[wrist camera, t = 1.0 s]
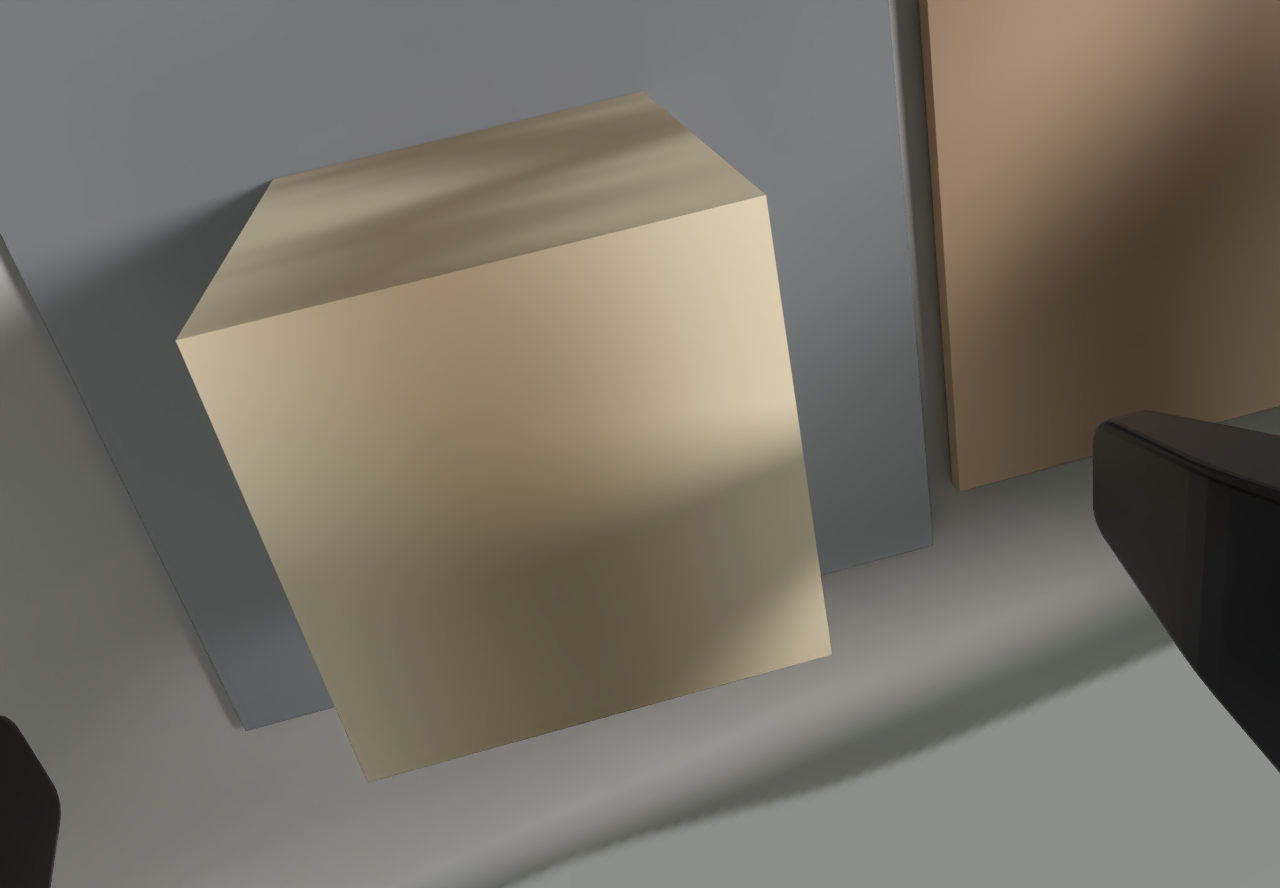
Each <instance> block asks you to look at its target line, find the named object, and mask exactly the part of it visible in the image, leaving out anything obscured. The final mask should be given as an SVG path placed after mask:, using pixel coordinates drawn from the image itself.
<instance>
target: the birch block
mask: <svg viewBox="0 0 1280 888" xmlns="http://www.w3.org/2000/svg"><path fill="white" fill-rule="evenodd" d="M176 343H177V345H178V347H179V349H180V352H181V354H182V356H183V359H184V361H185V363H186V366H187V368H188V370H189V372H190V375H191V377H192V379H193V382H194V384H195V386H196V389H197V391H198V393H199V395H200V398H201V400H202V402H203V405H204V407H205V409H206V412H207V414H208V416H209V418H210V421H211V423H212V425H213V428H214V430H215V432H216V435H217V437H218V439H219V441H220V444H221V446H222V448H223V451H224V453H225V455H226V458H227V460H228V462H229V464H230V467H231V469H232V471H233V474H234V476H235V478H236V481H237V483H238V485H239V488H240V490H241V492H242V494H243V497H244V499H245V501H246V504H247V506H248V508H249V511H250V513H251V515H252V517H253V520H254V522H255V524H256V527H257V529H258V531H259V534H260V536H261V538H262V540H263V543H264V545H265V547H266V550H267V552H268V554H269V557H270V559H271V561H272V563H273V566H274V568H275V570H276V573H277V575H278V577H279V580H280V582H281V584H282V586H283V589H284V591H285V593H286V596H287V598H288V600H289V603H290V605H291V607H292V609H293V612H294V614H295V616H296V619H297V621H298V623H299V626H300V628H301V630H302V632H303V635H304V637H305V639H306V642H307V644H308V646H309V649H310V651H311V653H312V655H313V658H314V660H315V662H316V665H317V667H318V669H319V672H320V674H321V676H322V678H323V681H324V683H325V685H326V688H327V690H328V692H329V695H330V697H331V699H332V701H333V704H334V706H335V708H336V711H337V713H338V715H339V718H340V720H341V722H342V724H343V727H344V729H345V731H346V734H347V736H348V738H349V741H350V743H351V745H352V747H353V750H354V752H355V754H356V757H357V759H358V761H359V764H360V766H361V768H362V770H363V773H364V775H365V777H366V780H367V782H372V781H375V780H379V779H383V778H386V777H390V776H394V775H397V774H401V773H404V772H408V771H412V770H415V769H419V768H423V767H426V766H430V765H433V764H437V763H441V762H444V761H448V760H452V759H455V758H459V757H462V756H466V755H470V754H473V753H477V752H481V751H484V750H488V749H491V748H495V747H499V746H502V745H506V744H510V743H513V742H517V741H520V740H524V739H528V738H531V737H535V736H539V735H542V734H546V733H550V732H553V731H557V730H560V729H564V728H568V727H571V726H575V725H579V724H582V723H586V722H589V721H593V720H597V719H600V718H604V717H608V716H611V715H615V714H618V713H622V712H626V711H629V710H633V709H637V708H640V707H644V706H647V705H651V704H655V703H658V702H662V701H666V700H669V699H673V698H676V697H680V696H684V695H687V694H691V693H695V692H698V691H702V690H705V689H709V688H713V687H716V686H720V685H724V684H727V683H731V682H735V681H738V680H742V679H745V678H749V677H753V676H756V675H760V674H764V673H767V672H771V671H774V670H778V669H782V668H785V667H789V666H793V665H796V664H800V663H803V662H807V661H811V660H814V659H818V658H822V657H825V656H829V655H832V651H831V644H830V637H829V630H828V623H827V616H826V609H825V602H824V595H823V588H822V581H821V574H820V567H819V560H818V553H817V546H816V539H815V532H814V525H813V518H812V512H811V505H810V498H809V491H808V484H807V477H806V470H805V463H804V456H803V449H802V442H801V435H800V428H799V421H798V414H797V407H796V400H795V393H794V386H793V379H792V372H791V365H790V358H789V351H788V344H787V337H786V330H785V323H784V317H783V310H782V303H781V296H780V289H779V282H778V275H777V268H776V261H775V254H774V247H773V240H772V233H771V226H770V219H769V212H768V205H767V198H766V195H765V194H764V193H763V192H762V191H761V190H759V189H758V188H757V187H756V186H755V185H754V184H752V183H751V182H750V181H749V180H748V179H746V178H745V177H744V176H743V175H742V174H740V173H739V172H738V171H737V170H736V169H734V168H733V167H732V166H731V165H730V164H729V163H727V162H726V161H725V160H724V159H723V158H721V157H720V156H719V155H718V154H717V153H715V152H714V151H713V150H712V149H711V148H709V147H708V146H707V145H706V144H705V143H704V142H702V141H701V140H700V139H699V138H698V137H696V136H695V135H694V134H693V133H692V132H690V131H689V130H688V129H687V128H686V127H684V126H683V125H682V124H681V123H680V122H679V121H677V120H676V119H675V118H674V117H673V116H671V115H670V114H669V113H668V112H667V111H665V110H664V109H663V108H662V107H661V106H659V105H658V104H657V103H656V102H655V101H654V100H652V99H651V98H650V97H649V96H648V95H646V94H645V93H644V92H643V91H642V92H638V93H634V94H630V95H625V96H621V97H617V98H613V99H609V100H604V101H600V102H596V103H592V104H588V105H583V106H579V107H575V108H571V109H567V110H562V111H558V112H554V113H550V114H546V115H541V116H537V117H533V118H529V119H525V120H520V121H516V122H512V123H508V124H504V125H499V126H495V127H491V128H487V129H483V130H478V131H474V132H470V133H466V134H462V135H457V136H453V137H449V138H445V139H441V140H436V141H432V142H428V143H424V144H420V145H415V146H411V147H407V148H403V149H399V150H394V151H390V152H386V153H382V154H378V155H373V156H369V157H365V158H361V159H357V160H352V161H348V162H344V163H340V164H336V165H331V166H327V167H323V168H319V169H315V170H311V171H306V172H302V173H298V174H294V175H290V176H285V177H281V178H277V179H273V180H272V182H271V184H270V185H269V187H268V188H267V190H266V192H265V193H264V195H263V197H262V198H261V200H260V202H259V203H258V205H257V207H256V208H255V210H254V212H253V213H252V215H251V217H250V218H249V220H248V222H247V223H246V225H245V227H244V228H243V230H242V231H241V233H240V235H239V236H238V238H237V240H236V241H235V243H234V245H233V246H232V248H231V250H230V251H229V253H228V255H227V256H226V258H225V260H224V261H223V263H222V265H221V266H220V268H219V270H218V271H217V273H216V274H215V276H214V278H213V279H212V281H211V283H210V284H209V286H208V288H207V289H206V291H205V293H204V294H203V296H202V298H201V299H200V301H199V303H198V304H197V306H196V308H195V309H194V311H193V313H192V314H191V316H190V317H189V319H188V321H187V322H186V324H185V326H184V327H183V329H182V331H181V332H180V334H179V336H178V337H177V339H176Z"/></svg>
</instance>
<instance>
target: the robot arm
mask: <svg viewBox="0 0 1280 888" xmlns="http://www.w3.org/2000/svg"><path fill="white" fill-rule="evenodd" d="M1093 510H1094V515H1095V519H1096V522H1097V525H1098V527H1099V530H1100V532H1101V534H1102V535H1103V537H1104V539H1105V540H1106V542H1107V543H1108V545H1109V546H1110V548H1111V549H1112V551H1113V552H1114V554H1115V555H1116V556H1117V558H1118V559H1119V561H1120V562H1121V564H1122V565H1123V567H1124V568H1125V570H1126V571H1127V573H1128V574H1129V576H1130V577H1131V579H1132V580H1133V582H1134V583H1135V585H1136V586H1137V588H1138V589H1139V591H1140V592H1141V594H1142V595H1143V597H1144V598H1145V599H1146V601H1147V602H1148V604H1149V605H1150V607H1151V608H1152V610H1153V611H1154V613H1155V614H1156V616H1157V617H1158V619H1159V620H1160V622H1161V623H1162V625H1163V626H1164V628H1165V629H1166V631H1167V632H1168V634H1169V635H1170V637H1171V638H1172V640H1173V641H1174V642H1175V644H1176V645H1177V647H1178V648H1179V650H1180V651H1181V653H1182V654H1183V656H1184V657H1185V658H1186V660H1187V661H1188V662H1189V664H1190V665H1191V666H1192V668H1193V669H1194V671H1195V672H1196V673H1197V675H1198V676H1199V677H1200V678H1201V680H1202V681H1203V682H1204V683H1205V685H1206V686H1207V687H1208V688H1209V690H1210V691H1211V692H1212V693H1213V695H1214V696H1215V697H1216V698H1217V699H1218V701H1219V702H1220V703H1221V704H1222V705H1223V706H1224V708H1225V709H1226V710H1227V711H1228V712H1229V714H1230V715H1231V716H1232V717H1233V718H1234V719H1235V721H1236V722H1237V723H1238V724H1239V725H1240V726H1241V728H1242V729H1243V730H1244V731H1245V732H1246V733H1247V735H1248V736H1249V737H1250V738H1251V739H1252V740H1253V742H1254V743H1255V744H1256V745H1257V746H1258V748H1259V749H1260V750H1261V751H1262V752H1263V753H1264V755H1265V756H1266V757H1267V758H1268V759H1269V761H1270V762H1271V763H1272V764H1273V765H1274V766H1275V768H1276V769H1277V770H1278V771H1279V772H1280V436H1277V435H1272V434H1267V433H1262V432H1257V431H1252V430H1247V429H1242V428H1237V427H1232V426H1227V425H1222V424H1217V423H1212V422H1207V421H1202V420H1197V419H1192V418H1186V417H1181V416H1176V415H1171V414H1166V413H1161V412H1156V411H1150V410H1146V411H1138V412H1135V413H1131V414H1127V415H1123V416H1120V417H1116V418H1112V419H1109V420H1106V421H1103V422H1102V423H1101V424H1100V425H1099V426H1098V427H1097V429H1096V431H1095V434H1094V440H1093ZM60 817H61V810H60V802H59V797H58V794H57V791H56V789H55V786H54V784H53V783H52V781H51V779H50V778H49V776H48V775H47V773H46V772H45V770H44V768H43V767H42V765H41V764H40V762H39V760H38V759H37V757H36V756H35V754H34V752H33V751H32V749H31V748H30V746H29V744H28V743H27V741H26V740H25V738H24V736H23V735H22V733H21V732H20V730H19V729H18V727H17V726H16V725H15V723H14V722H12V721H11V720H10V719H9V718H7V717H4V716H0V888H50V887H51V880H52V873H53V867H54V860H55V853H56V846H57V840H58V833H59V826H60Z"/></svg>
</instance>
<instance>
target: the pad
mask: <svg viewBox="0 0 1280 888" xmlns="http://www.w3.org/2000/svg"><path fill="white" fill-rule="evenodd" d="M919 14H920V28H921V42H922V57H923V71H924V85H925V100H926V114H927V129H928V143H929V157H930V172H931V186H932V200H933V215H934V229H935V243H936V258H937V272H938V287H939V301H940V315H941V330H942V344H943V358H944V373H945V387H946V401H947V416H948V430H949V444H950V459H951V473H952V484H953V485H954V486H955V487H956V488H957V489H958V490H959V491H964V490H968V489H972V488H975V487H979V486H983V485H987V484H990V483H994V482H998V481H1002V480H1005V479H1009V478H1013V477H1016V476H1020V475H1024V474H1028V473H1031V472H1035V471H1039V470H1043V469H1046V468H1050V467H1054V466H1058V465H1061V464H1065V463H1069V462H1073V461H1076V460H1080V459H1084V458H1087V457H1091V456H1093V440H1094V434H1095V431H1096V429H1097V427H1098V426H1099V425H1100V424H1101V423H1102V422H1103V421H1106V420H1109V419H1112V418H1116V417H1120V416H1123V415H1127V414H1131V413H1135V412H1138V411H1146V410H1150V411H1156V412H1161V413H1166V414H1171V415H1176V416H1181V417H1186V418H1192V419H1197V420H1202V421H1207V422H1212V423H1218V422H1222V421H1226V420H1229V419H1233V418H1237V417H1241V416H1244V415H1248V414H1252V413H1256V412H1259V411H1263V410H1267V409H1270V408H1274V407H1278V406H1280V0H919Z"/></svg>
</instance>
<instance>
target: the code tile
mask: <svg viewBox="0 0 1280 888" xmlns="http://www.w3.org/2000/svg"><path fill="white" fill-rule="evenodd" d="M642 91H643V92H644V93H645V94H646V95H648V96H649V97H650V98H651V99H652V100H654V101H655V102H656V103H657V104H658V105H659V106H661V107H662V108H663V109H664V110H665V111H667V112H668V113H669V114H670V115H671V116H673V117H674V118H675V119H676V120H677V121H679V122H680V123H681V124H682V125H683V126H684V127H686V128H687V129H688V130H689V131H690V132H692V133H693V134H694V135H695V136H696V137H698V138H699V139H700V140H701V141H702V142H704V143H705V144H706V145H707V146H708V147H709V148H711V149H712V150H713V151H714V152H715V153H717V154H718V155H719V156H720V157H721V158H723V159H724V160H725V161H726V162H727V163H729V164H730V165H731V166H732V167H733V168H734V169H736V170H737V171H738V172H739V173H740V174H742V175H743V176H744V177H745V178H746V179H748V180H749V181H750V182H751V183H752V184H754V185H755V186H756V187H757V188H758V189H759V190H761V191H762V192H763V193H764V194H765V195H766V198H767V205H768V212H769V219H770V226H771V233H772V240H773V247H774V254H775V261H776V268H777V275H778V282H779V289H780V296H781V303H782V310H783V317H784V323H785V330H786V337H787V344H788V351H789V358H790V365H791V372H792V379H793V386H794V393H795V400H796V407H797V414H798V421H799V428H800V435H801V442H802V449H803V456H804V463H805V470H806V477H807V484H808V491H809V498H810V505H811V512H812V518H813V525H814V532H815V539H816V546H817V553H818V560H819V567H820V574H821V575H825V574H828V573H832V572H836V571H839V570H843V569H847V568H850V567H854V566H858V565H861V564H865V563H869V562H873V561H876V560H880V559H884V558H887V557H891V556H895V555H898V554H902V553H906V552H910V551H913V550H917V549H921V548H924V547H928V546H932V545H933V537H932V525H931V513H930V501H929V489H928V476H927V464H926V452H925V440H924V428H923V415H922V403H921V391H920V379H919V367H918V354H917V342H916V330H915V318H914V306H913V293H912V281H911V269H910V257H909V245H908V232H907V220H906V208H905V196H904V184H903V171H902V159H901V147H900V135H899V123H898V110H897V98H896V86H895V74H894V62H893V49H892V37H891V25H890V13H889V1H888V0H0V234H1V236H2V238H3V240H4V242H5V244H6V246H7V248H8V250H9V252H10V254H11V256H12V258H13V260H14V262H15V264H16V266H17V268H18V270H19V272H20V274H21V276H22V278H23V280H24V282H25V284H26V287H27V289H28V291H29V293H30V295H31V297H32V299H33V301H34V303H35V305H36V307H37V309H38V311H39V313H40V315H41V317H42V319H43V321H44V323H45V325H46V327H47V329H48V331H49V333H50V335H51V337H52V339H53V341H54V343H55V345H56V347H57V349H58V351H59V353H60V355H61V358H62V360H63V362H64V364H65V366H66V368H67V370H68V372H69V374H70V376H71V378H72V380H73V382H74V384H75V386H76V388H77V390H78V392H79V394H80V396H81V398H82V400H83V402H84V404H85V406H86V408H87V410H88V412H89V414H90V416H91V418H92V420H93V422H94V424H95V426H96V429H97V431H98V433H99V435H100V437H101V439H102V441H103V443H104V445H105V447H106V449H107V451H108V453H109V455H110V457H111V459H112V461H113V463H114V465H115V467H116V469H117V471H118V473H119V475H120V477H121V479H122V481H123V483H124V485H125V487H126V489H127V491H128V493H129V495H130V497H131V500H132V502H133V504H134V506H135V508H136V510H137V512H138V514H139V516H140V518H141V520H142V522H143V524H144V526H145V528H146V530H147V532H148V534H149V536H150V538H151V540H152V542H153V544H154V546H155V548H156V550H157V552H158V554H159V556H160V558H161V560H162V562H163V564H164V566H165V568H166V571H167V573H168V575H169V577H170V579H171V581H172V583H173V585H174V587H175V589H176V591H177V593H178V595H179V597H180V599H181V601H182V603H183V605H184V607H185V609H186V611H187V613H188V615H189V617H190V619H191V621H192V623H193V625H194V627H195V629H196V631H197V633H198V635H199V637H200V639H201V642H202V644H203V646H204V648H205V650H206V652H207V654H208V656H209V658H210V660H211V662H212V664H213V666H214V668H215V670H216V672H217V674H218V676H219V678H220V680H221V682H222V684H223V686H224V688H225V690H226V692H227V694H228V696H229V698H230V700H231V702H232V704H233V706H234V708H235V710H236V713H237V715H238V717H239V719H240V721H241V723H242V725H243V727H244V729H245V731H248V730H252V729H255V728H259V727H263V726H267V725H270V724H274V723H278V722H281V721H285V720H289V719H292V718H296V717H300V716H303V715H307V714H311V713H315V712H318V711H322V710H326V709H329V708H333V707H335V706H334V704H333V701H332V699H331V697H330V695H329V692H328V690H327V688H326V685H325V683H324V681H323V678H322V676H321V674H320V672H319V669H318V667H317V665H316V662H315V660H314V658H313V655H312V653H311V651H310V649H309V646H308V644H307V642H306V639H305V637H304V635H303V632H302V630H301V628H300V626H299V623H298V621H297V619H296V616H295V614H294V612H293V609H292V607H291V605H290V603H289V600H288V598H287V596H286V593H285V591H284V589H283V586H282V584H281V582H280V580H279V577H278V575H277V573H276V570H275V568H274V566H273V563H272V561H271V559H270V557H269V554H268V552H267V550H266V547H265V545H264V543H263V540H262V538H261V536H260V534H259V531H258V529H257V527H256V524H255V522H254V520H253V517H252V515H251V513H250V511H249V508H248V506H247V504H246V501H245V499H244V497H243V494H242V492H241V490H240V488H239V485H238V483H237V481H236V478H235V476H234V474H233V471H232V469H231V467H230V464H229V462H228V460H227V458H226V455H225V453H224V451H223V448H222V446H221V444H220V441H219V439H218V437H217V435H216V432H215V430H214V428H213V425H212V423H211V421H210V418H209V416H208V414H207V412H206V409H205V407H204V405H203V402H202V400H201V398H200V395H199V393H198V391H197V389H196V386H195V384H194V382H193V379H192V377H191V375H190V372H189V370H188V368H187V366H186V363H185V361H184V359H183V356H182V354H181V352H180V349H179V347H178V345H177V343H176V339H177V337H178V336H179V334H180V332H181V331H182V329H183V327H184V326H185V324H186V322H187V321H188V319H189V317H190V316H191V314H192V313H193V311H194V309H195V308H196V306H197V304H198V303H199V301H200V299H201V298H202V296H203V294H204V293H205V291H206V289H207V288H208V286H209V284H210V283H211V281H212V279H213V278H214V276H215V274H216V273H217V271H218V270H219V268H220V266H221V265H222V263H223V261H224V260H225V258H226V256H227V255H228V253H229V251H230V250H231V248H232V246H233V245H234V243H235V241H236V240H237V238H238V236H239V235H240V233H241V231H242V230H243V228H244V227H245V225H246V223H247V222H248V220H249V218H250V217H251V215H252V213H253V212H254V210H255V208H256V207H257V205H258V203H259V202H260V200H261V198H262V197H263V195H264V193H265V192H266V190H267V188H268V187H269V185H270V184H271V182H272V180H273V179H277V178H281V177H285V176H290V175H294V174H298V173H302V172H306V171H311V170H315V169H319V168H323V167H327V166H331V165H336V164H340V163H344V162H348V161H352V160H357V159H361V158H365V157H369V156H373V155H378V154H382V153H386V152H390V151H394V150H399V149H403V148H407V147H411V146H415V145H420V144H424V143H428V142H432V141H436V140H441V139H445V138H449V137H453V136H457V135H462V134H466V133H470V132H474V131H478V130H483V129H487V128H491V127H495V126H499V125H504V124H508V123H512V122H516V121H520V120H525V119H529V118H533V117H537V116H541V115H546V114H550V113H554V112H558V111H562V110H567V109H571V108H575V107H579V106H583V105H588V104H592V103H596V102H600V101H604V100H609V99H613V98H617V97H621V96H625V95H630V94H634V93H638V92H642Z"/></svg>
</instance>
